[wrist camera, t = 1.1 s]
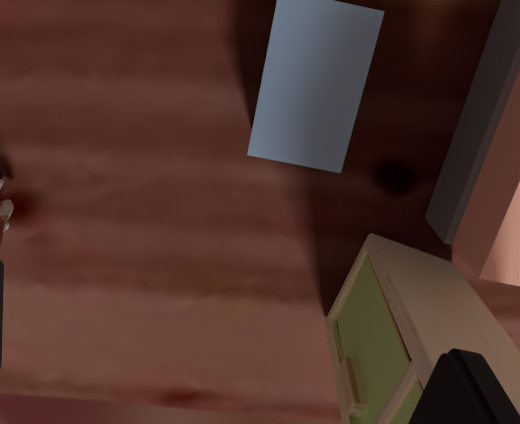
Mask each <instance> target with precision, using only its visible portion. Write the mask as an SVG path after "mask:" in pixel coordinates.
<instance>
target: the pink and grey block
mask: <svg viewBox="0 0 520 424" xmlns="http://www.w3.org/2000/svg"><path fill="white" fill-rule="evenodd" d="M424 218H425V219H426V221H427V222H428V223H429V225H430V226H431V227H432V229H433V230H434V231H435V232H436V234H437V235H438V236H439V238H440V239H441V240H442V241H443V243H444V244H450V245H452V246H453V247H454V248H455V249H456V251H457V252H458V253H459V254H460V256H461V257H462V258H463V259H464V260H465V262H466V263H467V264H468V265H469V267H470V268H471V269H472V270H473V272H474V273H475V274H476V275H477V277H478V278H479V279H485V280H490V281H495V282H500V283H506V284H511V285H516V286H520V0H501V2H500V4H499V7H498V10H497V13H496V16H495V19H494V21H493V24H492V27H491V30H490V33H489V36H488V38H487V41H486V44H485V47H484V50H483V53H482V56H481V58H480V61H479V64H478V67H477V70H476V73H475V75H474V78H473V81H472V84H471V87H470V90H469V92H468V95H467V98H466V101H465V104H464V107H463V109H462V112H461V115H460V118H459V121H458V124H457V126H456V129H455V132H454V135H453V138H452V141H451V143H450V146H449V149H448V152H447V155H446V158H445V161H444V163H443V166H442V169H441V172H440V175H439V178H438V180H437V183H436V186H435V189H434V192H433V195H432V197H431V200H430V203H429V206H428V209H427V212H426V214H425V217H424Z"/></svg>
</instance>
